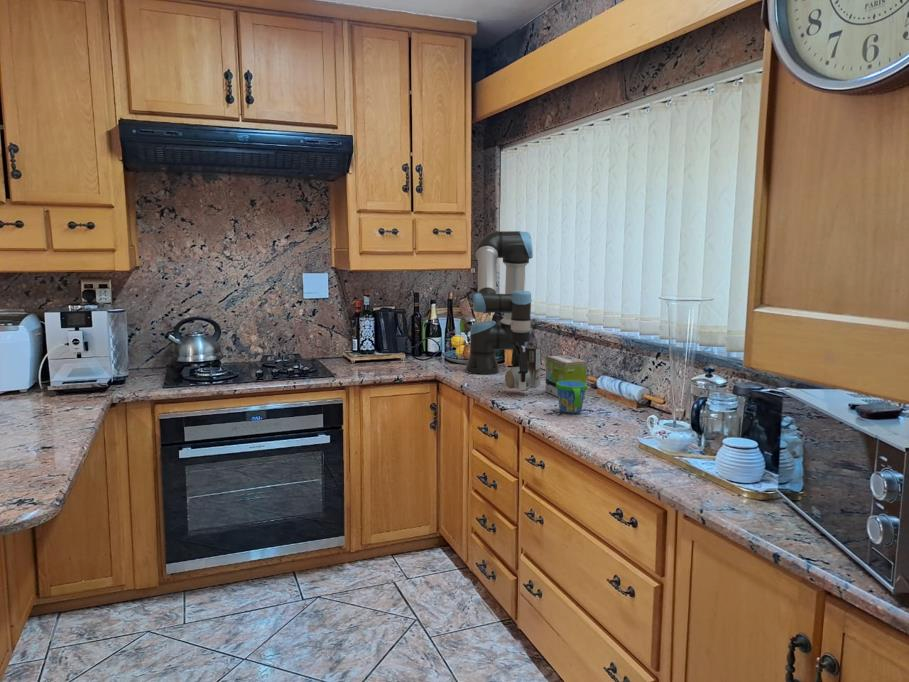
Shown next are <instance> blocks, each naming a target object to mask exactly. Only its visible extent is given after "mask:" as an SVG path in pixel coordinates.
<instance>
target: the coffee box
mask: <svg viewBox="0 0 909 682" xmlns="http://www.w3.org/2000/svg"><path fill="white" fill-rule="evenodd" d="M526 347H527V362H528V371H529V373H530V377H531V382H530V387H531V388H538V387H539V386H541V366H542V365H541V363H542V359H541V358H542V349H541V348H542V347H540V346H526ZM530 387H529V388H530Z"/></svg>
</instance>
